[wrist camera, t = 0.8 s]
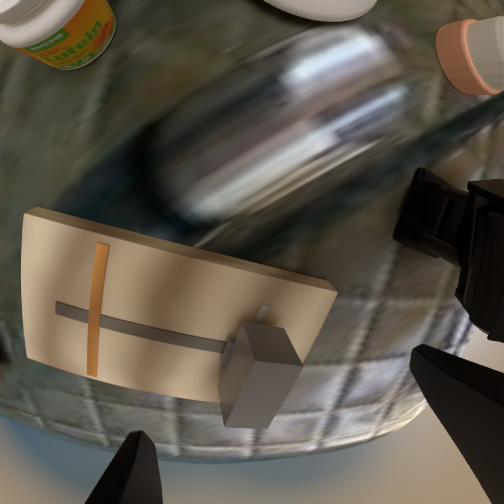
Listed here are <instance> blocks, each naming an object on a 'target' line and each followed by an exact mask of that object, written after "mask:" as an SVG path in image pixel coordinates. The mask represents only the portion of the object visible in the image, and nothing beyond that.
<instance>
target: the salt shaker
mask: <svg viewBox="0 0 504 504" xmlns="http://www.w3.org/2000/svg"><path fill="white" fill-rule="evenodd" d="M435 46H436V51H437V56H438V59H439V62H440V64H441V67H442V69H443V71H444V73H445V74H446V76H447V78H448V80H449V81H450V82H451V83H452V84H453V86H454V87H455V88H456V89H458V90H459V91H460V92H462V93H465V94H468V95H494V94H498V93H500V92H501V91H504V16H498V17H494V18H489V19H485V20H480V21H476V20H474V19H465V20H461V21H457V22H453V23H450V24H446V25H443V26H442V27H440V28H439V29H438V31H437V34H436V43H435Z"/></svg>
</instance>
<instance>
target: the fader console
mask: <svg viewBox="0 0 504 504" xmlns="http://www.w3.org/2000/svg"><path fill="white" fill-rule="evenodd" d="M21 293H22V313H23V325H24V335H25V344H26V352H27V357H28V358H30V359H33V360H36V361H39V362H41V363H44V364H47V365H50V366H53V367H56V368H59V369H62V370H65V371H68V372H71V373H75V374H78V375H81V376H85V377H88V378H92V379H95V380H99V381H103V382H107V383H111V384H115V385H119V386H123V387H127V388H132V389H136V390H141V391H146V392H151V393H156V394H162V395H167V396H173V397H179V398H186V399H192V400H200V401H207V402H216V403H220V399H219V393H218V387H217V385H218V383H219V380H220V377H221V375H222V372H223V370H224V369H223V368H220V366H219V362H220V359H221V357H222V354H223V351H224V349H225V346H226V343H227V340H228V338H234V339H235V338H236V336H237V333H238V330H239V328H240V325H241V322H242V321H246V322H251V323H257V324H263V325H269V326H274V327H281V328H284V329H285V331H286V333H287V335H288V337H289V339H290V341H291V343H292V344H293V346H294V348H295V350H296V352H297V354H298V356H299V358H300V360H301V362H302V364H303V362H304V360H305V358H306V357H307V355H308V353H309V351H310V349H311V347H312V345H313V343H314V341H315V339H316V337H317V335H318V333H319V331H320V329H321V327H322V325H323V323H324V321H325V319H326V317H327V315H328V313H329V311H330V309H331V307H332V304H333V302H334V300H335V298H336V296H337V294H338V291H337V290H336V289H335V288H334V287H333V286H332V285H331V284H330V283H329V282H328V281H327V280H323V279H319V278H315V277H311V276H307V275H303V274H299V273H294V272H290V271H286V270H282V269H278V268H274V267H270V266H266V265H262V264H258V263H254V262H250V261H246V260H242V259H238V258H234V257H230V256H226V255H222V254H218V253H214V252H210V251H206V250H202V249H198V248H194V247H191V246H187V245H183V244H179V243H175V242H171V241H167V240H163V239H159V238H155V237H152V236H148V235H144V234H140V233H136V232H132V231H128V230H125V229H121V228H117V227H113V226H109V225H105V224H102V223H98V222H94V221H90V220H87V219H83V218H79V217H75V216H71V215H68V214H64V213H60V212H56V211H53V210H49V209H45V208H42V207H38V206H37V207H35V208H33V209H31V210H29V211H27V212H26V213H24V220H23V233H22V253H21Z"/></svg>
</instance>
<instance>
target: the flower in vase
mask: <svg viewBox="0 0 504 504" xmlns="http://www.w3.org/2000/svg"><path fill="white" fill-rule="evenodd" d="M264 1H265V2H267V3H269V4H271V5H273V6H274V7H276V8H279V9H281V10H283V11H286V12H288V13H291V14H294V15H297V16H300V17H304V18H307V19H312V20H318V21H327V22H341V21H347V20H352V19H355V18H358V17H360V16H362V15H364V14H366V13H367V12H368V11H370V9H371V8H372V7H373V6H374V5H375V3H376V1H377V0H264Z"/></svg>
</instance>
